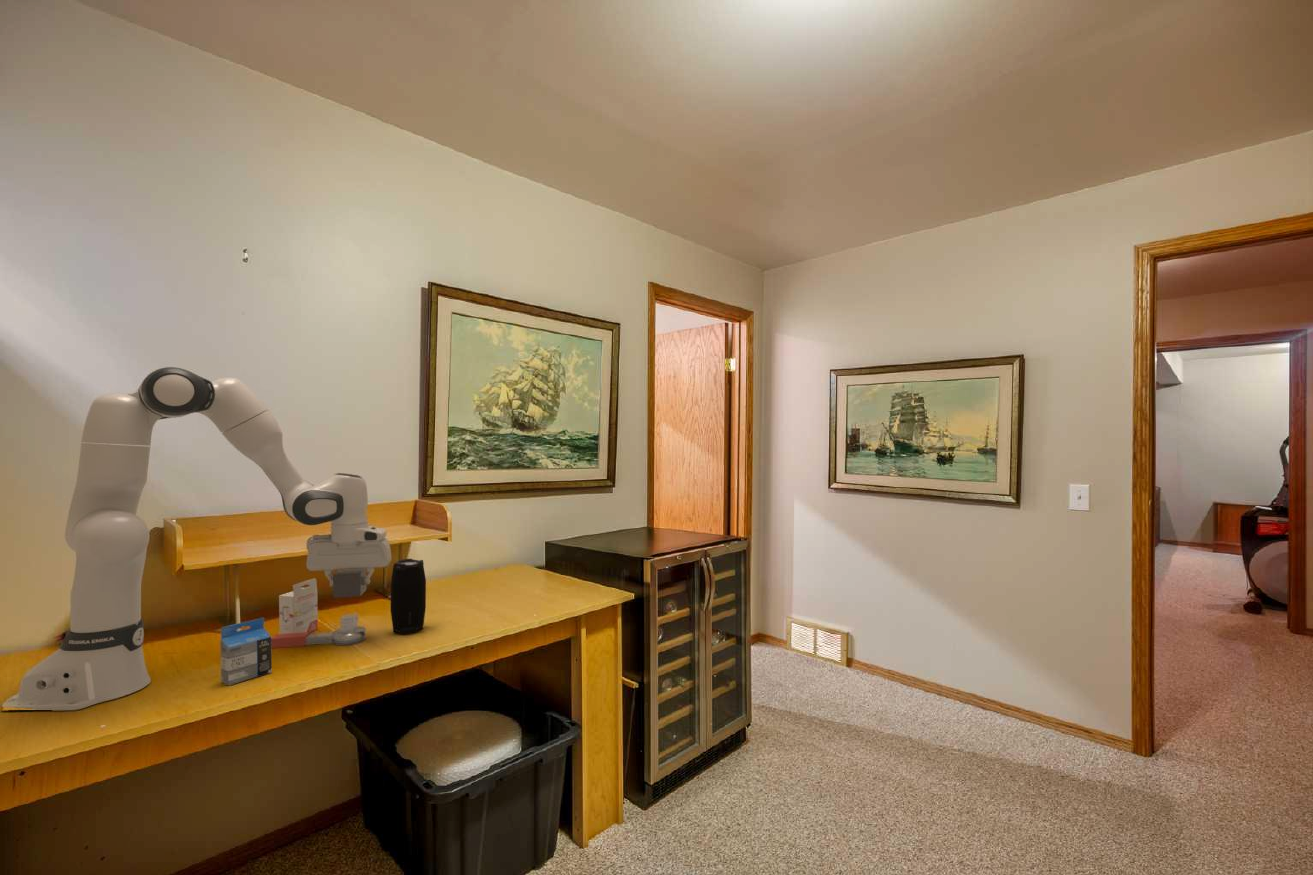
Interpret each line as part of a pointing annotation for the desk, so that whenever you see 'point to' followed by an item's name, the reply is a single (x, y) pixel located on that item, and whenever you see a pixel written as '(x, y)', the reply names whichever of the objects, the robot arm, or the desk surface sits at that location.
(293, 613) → the ink cartridge box
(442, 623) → the desk surface
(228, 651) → the label tape box
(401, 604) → the portable speaker
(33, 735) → the desk surface
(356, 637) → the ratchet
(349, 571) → the dark grey block
